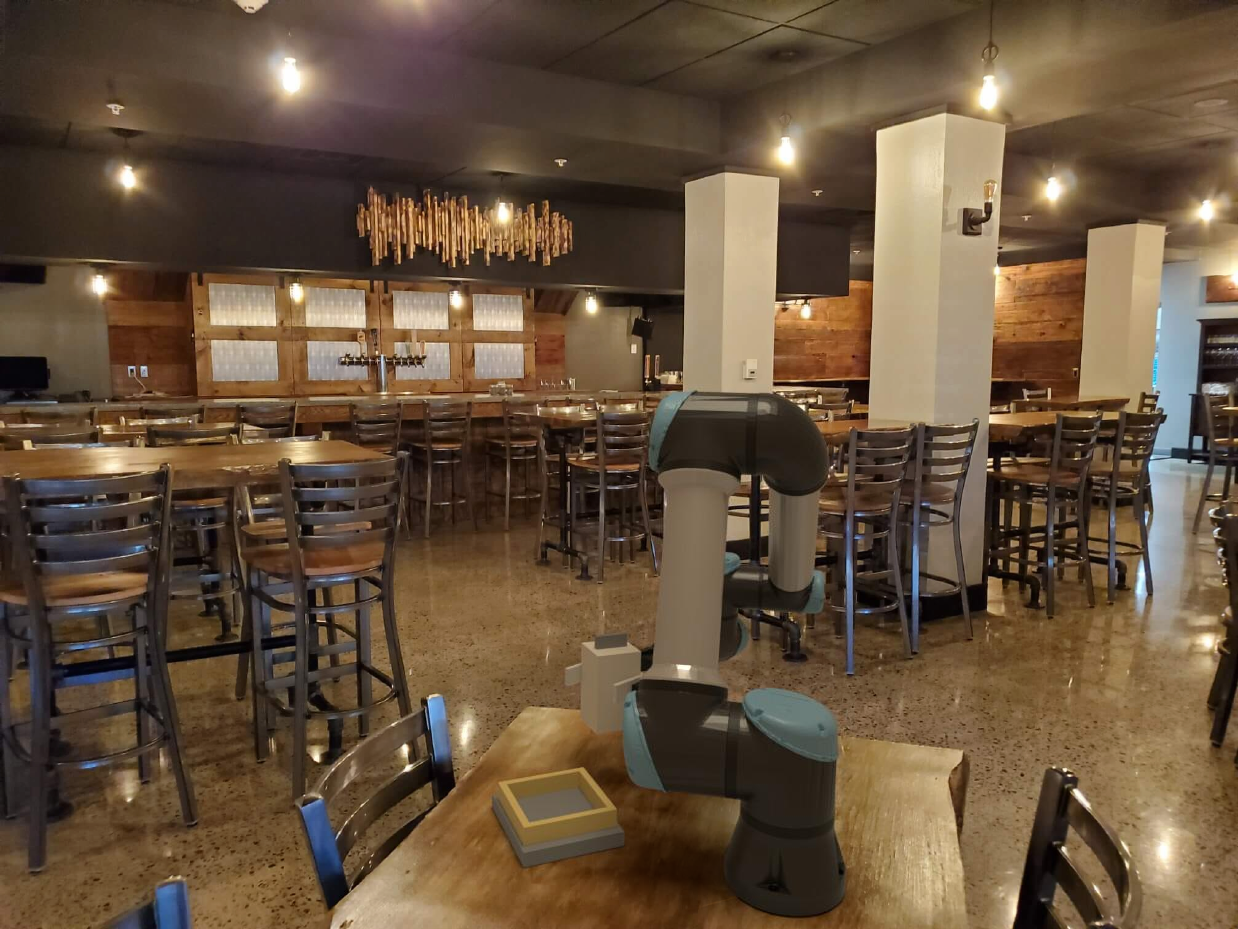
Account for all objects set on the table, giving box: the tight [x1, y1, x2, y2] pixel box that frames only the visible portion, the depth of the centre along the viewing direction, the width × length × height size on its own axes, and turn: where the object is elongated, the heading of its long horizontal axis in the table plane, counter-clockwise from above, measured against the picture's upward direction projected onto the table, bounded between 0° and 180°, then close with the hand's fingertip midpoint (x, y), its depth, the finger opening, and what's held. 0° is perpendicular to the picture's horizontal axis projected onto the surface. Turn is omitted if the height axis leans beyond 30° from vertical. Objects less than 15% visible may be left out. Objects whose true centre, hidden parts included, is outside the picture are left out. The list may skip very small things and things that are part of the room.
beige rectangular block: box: [579, 631, 642, 735], centre depth 131 cm, size 7×7×14 cm
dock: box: [491, 766, 625, 869], centre depth 118 cm, size 16×14×4 cm
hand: (590, 685), depth 127 cm, fingers closed on beige rectangular block, 9 cm apart
